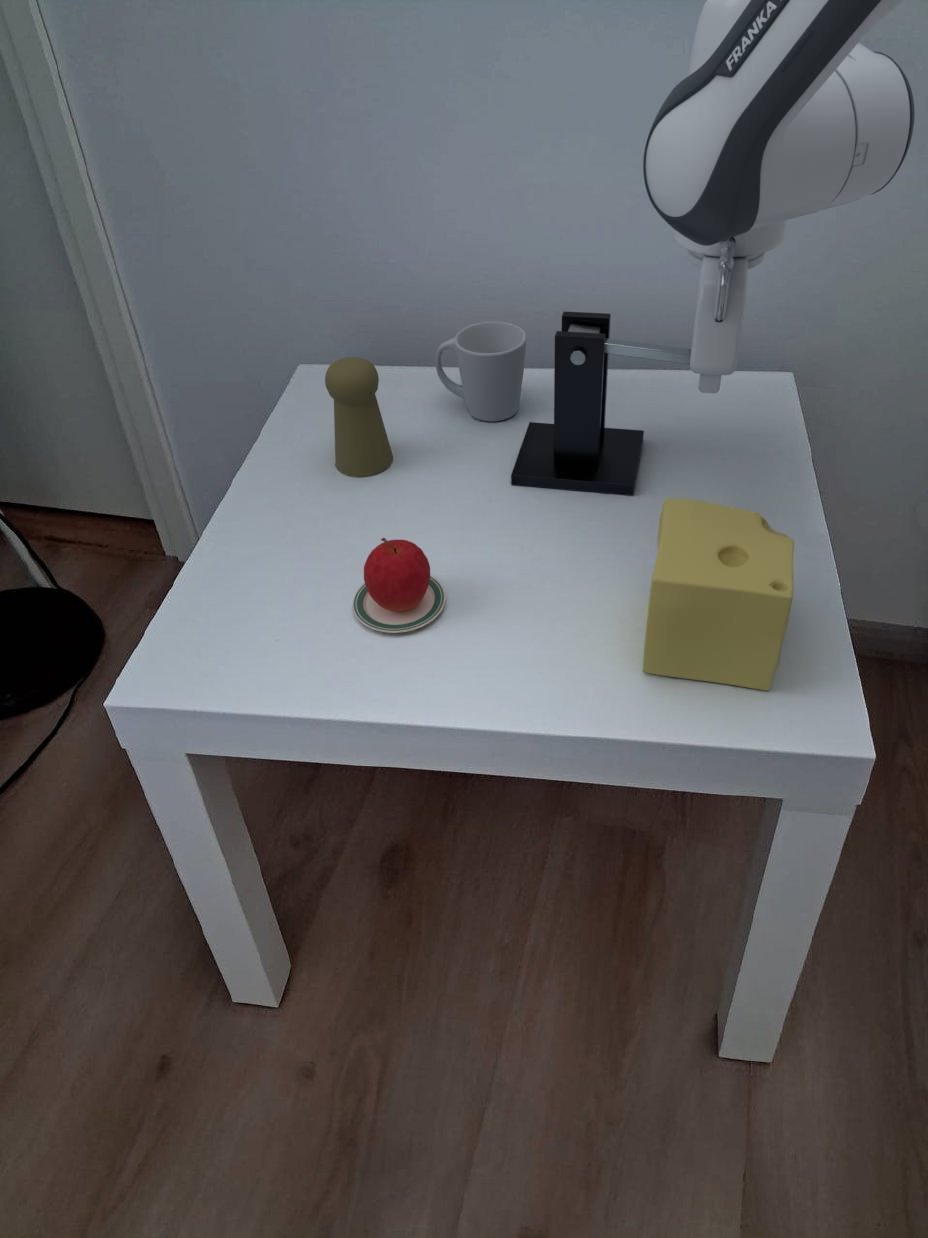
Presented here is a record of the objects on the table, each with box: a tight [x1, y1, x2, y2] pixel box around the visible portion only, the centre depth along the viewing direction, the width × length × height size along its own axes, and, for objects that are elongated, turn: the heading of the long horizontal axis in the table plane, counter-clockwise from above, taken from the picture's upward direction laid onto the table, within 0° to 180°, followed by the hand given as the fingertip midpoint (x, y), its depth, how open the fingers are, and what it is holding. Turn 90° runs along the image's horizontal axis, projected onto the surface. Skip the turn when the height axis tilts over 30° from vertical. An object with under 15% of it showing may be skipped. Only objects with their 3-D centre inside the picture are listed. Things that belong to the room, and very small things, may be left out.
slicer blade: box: [568, 324, 692, 365], centre depth 85 cm, size 14×5×2 cm, turn 77°
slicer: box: [510, 310, 645, 497], centre depth 90 cm, size 12×10×15 cm
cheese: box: [642, 497, 795, 691], centre depth 72 cm, size 10×11×10 cm
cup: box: [434, 321, 528, 423], centre depth 101 cm, size 8×10×8 cm
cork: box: [324, 356, 394, 478], centre depth 94 cm, size 6×6×11 cm
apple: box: [352, 537, 447, 634], centre depth 78 cm, size 8×8×6 cm
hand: (710, 371), depth 85 cm, fingers closed on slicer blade, 5 cm apart
